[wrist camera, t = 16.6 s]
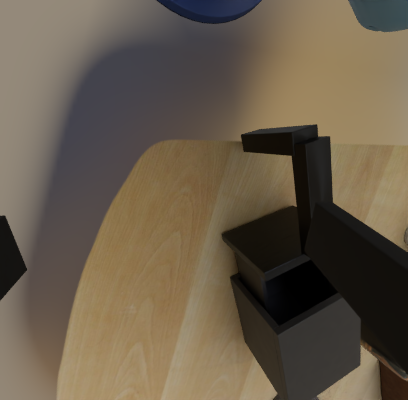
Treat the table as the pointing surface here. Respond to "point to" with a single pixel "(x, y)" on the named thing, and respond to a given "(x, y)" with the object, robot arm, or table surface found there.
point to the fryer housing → (301, 343)
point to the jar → (379, 351)
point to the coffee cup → (406, 236)
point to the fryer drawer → (285, 226)
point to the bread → (392, 385)
